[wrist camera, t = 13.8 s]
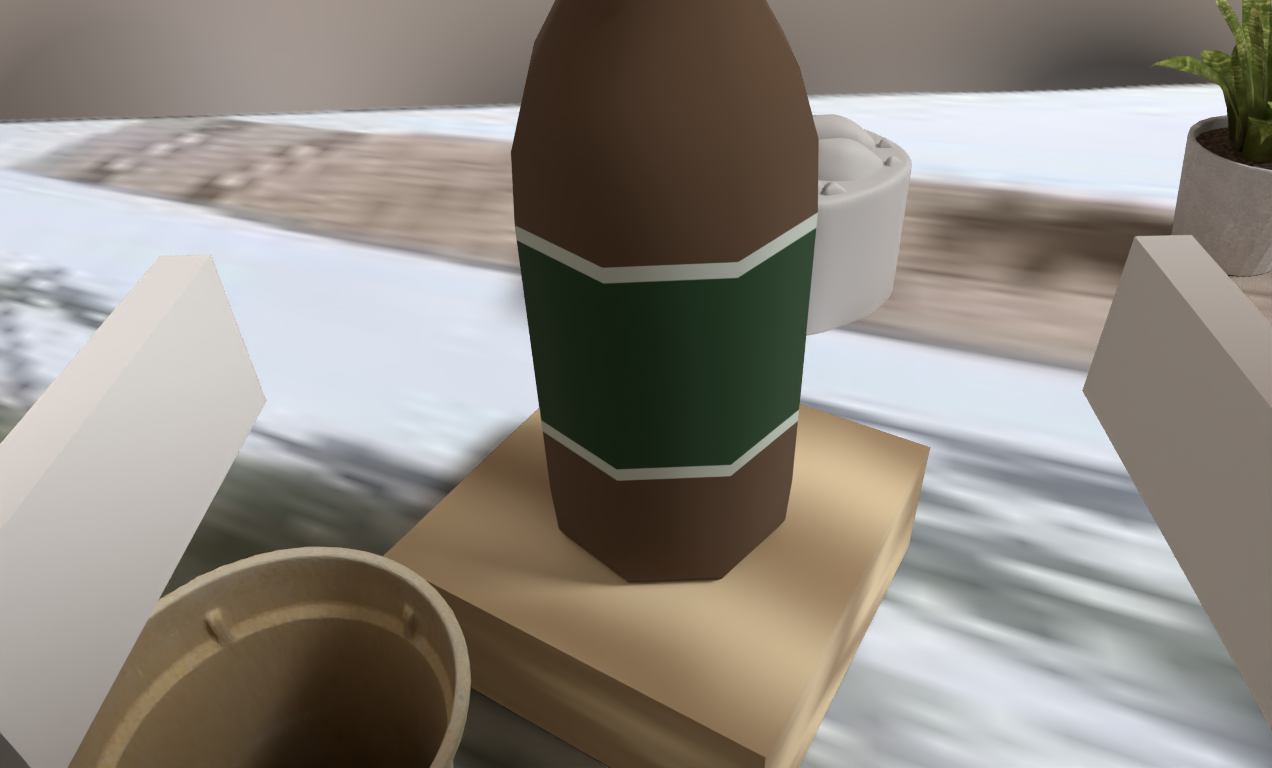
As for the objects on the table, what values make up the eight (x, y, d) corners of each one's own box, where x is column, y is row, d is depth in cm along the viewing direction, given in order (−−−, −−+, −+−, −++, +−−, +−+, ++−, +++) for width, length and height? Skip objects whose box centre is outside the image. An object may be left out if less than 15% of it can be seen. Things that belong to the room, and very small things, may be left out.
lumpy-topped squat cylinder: (652, 234, 54) (647, 89, 48) (877, 233, 53) (898, 85, 47) (643, 338, 46) (636, 177, 40) (909, 338, 45) (938, 174, 39)
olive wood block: (616, 433, 40) (609, 340, 37) (908, 546, 34) (930, 447, 31) (412, 654, 31) (381, 557, 28) (757, 851, 26) (765, 757, 23)
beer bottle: (507, 555, 28) (299, -555, 13) (606, 402, 34) (538, -498, 19) (753, 627, 26) (839, -632, 11) (815, 449, 31) (928, -541, 16)
